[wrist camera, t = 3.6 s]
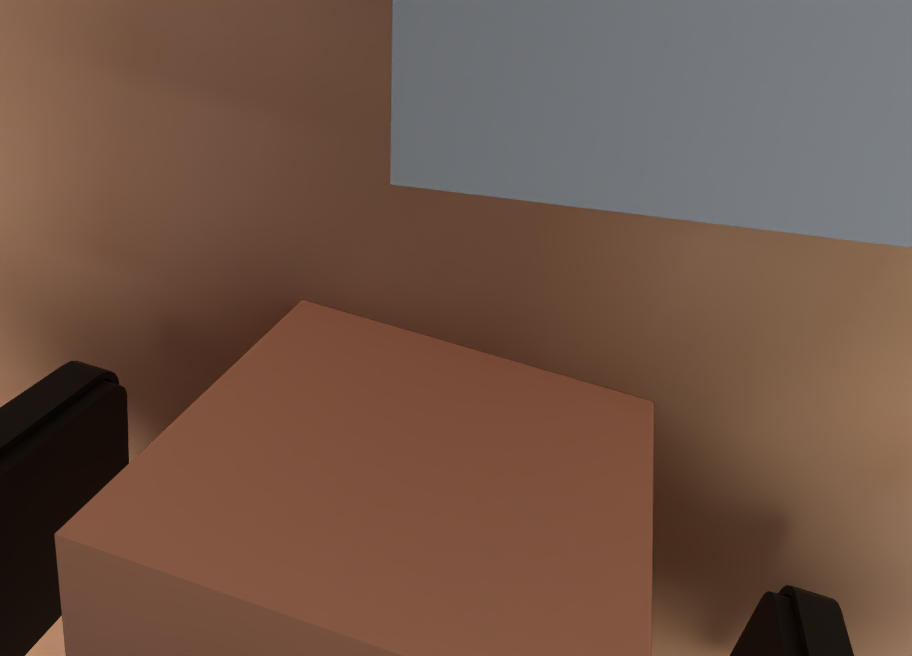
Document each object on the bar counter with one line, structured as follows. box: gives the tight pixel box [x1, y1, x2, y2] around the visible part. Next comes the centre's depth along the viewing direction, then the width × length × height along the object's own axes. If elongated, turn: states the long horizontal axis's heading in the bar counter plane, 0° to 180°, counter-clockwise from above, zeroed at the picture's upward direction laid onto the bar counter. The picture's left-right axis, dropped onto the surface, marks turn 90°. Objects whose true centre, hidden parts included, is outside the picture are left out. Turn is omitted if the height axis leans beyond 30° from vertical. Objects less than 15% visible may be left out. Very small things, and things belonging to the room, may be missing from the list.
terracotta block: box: [54, 300, 654, 656], centre depth 9 cm, size 5×5×5 cm
